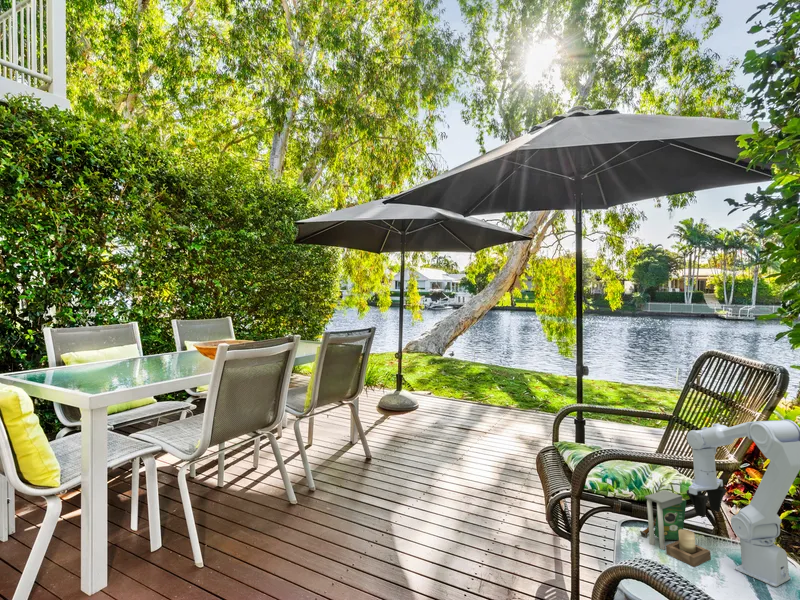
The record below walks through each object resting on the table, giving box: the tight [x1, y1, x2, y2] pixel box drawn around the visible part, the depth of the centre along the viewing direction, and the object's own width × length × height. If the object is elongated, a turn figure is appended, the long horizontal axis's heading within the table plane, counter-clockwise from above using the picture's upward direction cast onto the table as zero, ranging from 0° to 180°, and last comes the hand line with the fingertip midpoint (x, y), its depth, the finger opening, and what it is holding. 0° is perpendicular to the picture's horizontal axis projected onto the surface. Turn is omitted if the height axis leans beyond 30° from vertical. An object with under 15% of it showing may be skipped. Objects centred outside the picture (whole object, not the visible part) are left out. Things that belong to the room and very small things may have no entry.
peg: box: [678, 528, 696, 555], centre depth 127 cm, size 4×4×7 cm
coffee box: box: [654, 497, 687, 541], centre depth 137 cm, size 8×3×13 cm, turn 96°
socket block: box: [665, 540, 712, 568], centre depth 127 cm, size 8×8×2 cm
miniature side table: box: [644, 489, 683, 551], centre depth 135 cm, size 6×10×15 cm, turn 116°
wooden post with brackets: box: [639, 518, 656, 539], centre depth 140 cm, size 2×8×4 cm, turn 109°
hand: (708, 513), depth 134 cm, fingers open, 7 cm apart
